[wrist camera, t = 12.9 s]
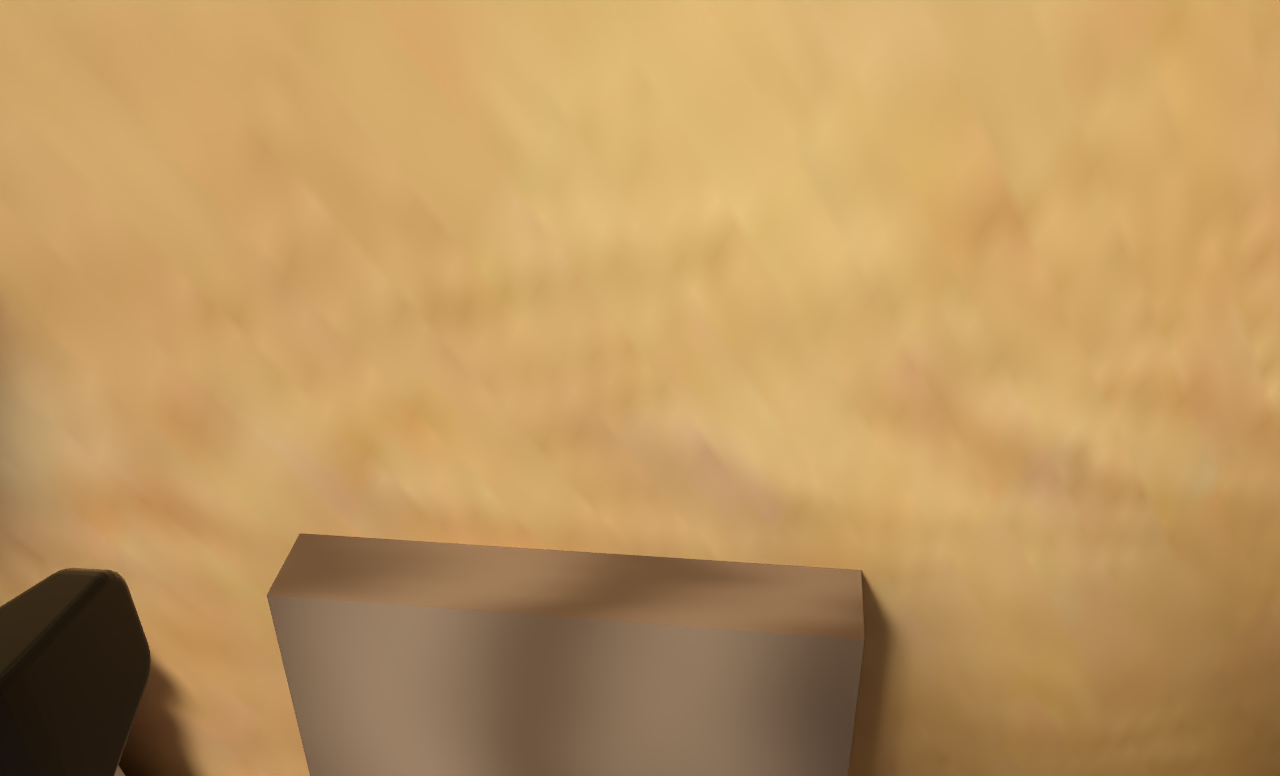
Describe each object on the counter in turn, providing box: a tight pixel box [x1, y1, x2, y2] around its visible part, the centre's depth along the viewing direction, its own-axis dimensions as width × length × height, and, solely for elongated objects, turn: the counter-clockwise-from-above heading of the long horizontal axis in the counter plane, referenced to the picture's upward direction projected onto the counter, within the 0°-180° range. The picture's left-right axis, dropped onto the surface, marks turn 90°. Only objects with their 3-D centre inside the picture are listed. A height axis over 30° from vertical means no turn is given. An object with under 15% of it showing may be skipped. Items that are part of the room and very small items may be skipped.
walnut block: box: [267, 534, 865, 776], centre depth 29 cm, size 12×12×2 cm
